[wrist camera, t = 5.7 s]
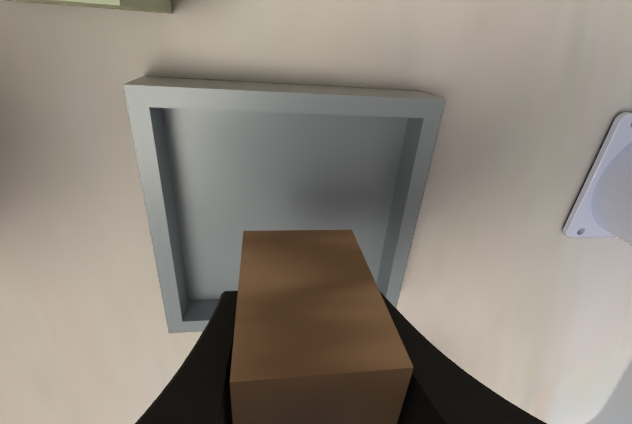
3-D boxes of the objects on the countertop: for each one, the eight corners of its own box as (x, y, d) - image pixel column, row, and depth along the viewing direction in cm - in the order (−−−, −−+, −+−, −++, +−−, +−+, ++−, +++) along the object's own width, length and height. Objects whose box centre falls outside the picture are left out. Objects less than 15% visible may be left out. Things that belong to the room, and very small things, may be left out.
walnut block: (351, 229, 13) (413, 367, 8) (341, 309, 15) (384, 464, 9) (243, 230, 12) (229, 382, 7) (246, 314, 14) (236, 483, 9)
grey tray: (421, 91, 17) (445, 100, 15) (380, 292, 23) (393, 320, 21) (143, 76, 15) (123, 84, 13) (178, 301, 21) (169, 333, 19)
